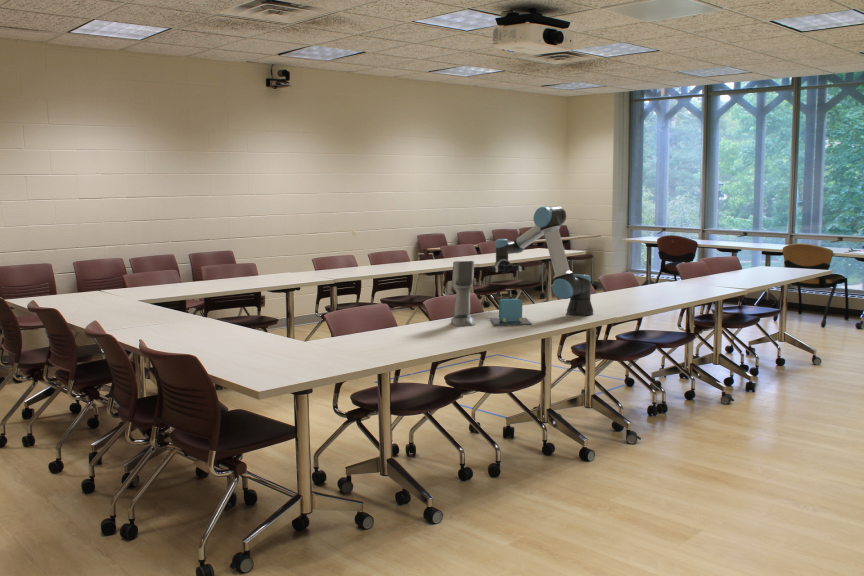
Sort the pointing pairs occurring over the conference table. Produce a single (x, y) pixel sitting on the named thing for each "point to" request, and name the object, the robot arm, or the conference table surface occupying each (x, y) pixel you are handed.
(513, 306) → the teal square slab
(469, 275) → the grey pedestal post
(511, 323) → the chassis
